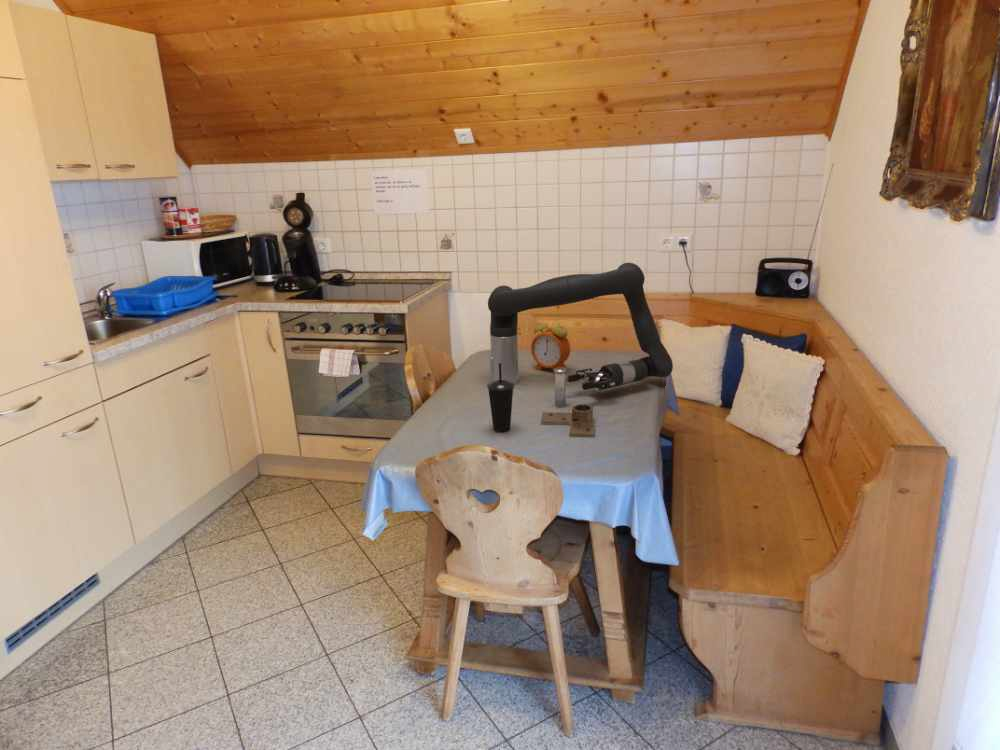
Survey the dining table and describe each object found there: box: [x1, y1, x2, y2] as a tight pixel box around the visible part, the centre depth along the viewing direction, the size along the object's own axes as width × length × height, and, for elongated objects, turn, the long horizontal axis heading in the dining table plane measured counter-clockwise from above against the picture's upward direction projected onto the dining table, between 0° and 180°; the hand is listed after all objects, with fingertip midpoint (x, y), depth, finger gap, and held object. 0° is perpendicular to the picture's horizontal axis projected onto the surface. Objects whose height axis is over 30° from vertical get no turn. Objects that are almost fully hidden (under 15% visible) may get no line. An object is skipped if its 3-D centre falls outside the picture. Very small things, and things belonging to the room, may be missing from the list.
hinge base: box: [540, 403, 596, 438], centre depth 195 cm, size 16×16×4 cm
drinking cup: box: [486, 363, 515, 434], centre depth 192 cm, size 8×8×20 cm
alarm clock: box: [530, 315, 571, 374], centre depth 243 cm, size 13×6×20 cm, turn 55°
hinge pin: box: [553, 367, 567, 408], centre depth 210 cm, size 4×4×12 cm
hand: (575, 382), depth 212 cm, fingers open, 8 cm apart
